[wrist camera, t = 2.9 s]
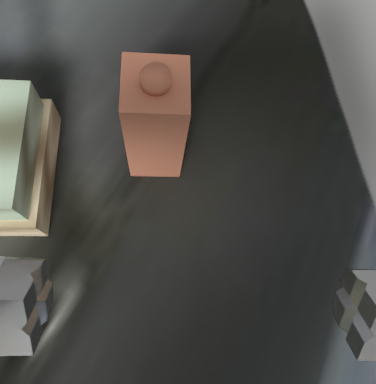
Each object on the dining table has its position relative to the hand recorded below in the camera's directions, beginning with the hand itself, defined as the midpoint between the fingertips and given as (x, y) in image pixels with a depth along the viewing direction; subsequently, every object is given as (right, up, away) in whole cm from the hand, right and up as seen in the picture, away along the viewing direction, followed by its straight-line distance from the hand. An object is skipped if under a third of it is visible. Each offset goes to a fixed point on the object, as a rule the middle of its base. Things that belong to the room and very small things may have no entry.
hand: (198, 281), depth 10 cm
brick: (-3, +6, +20) cm, 21 cm away
